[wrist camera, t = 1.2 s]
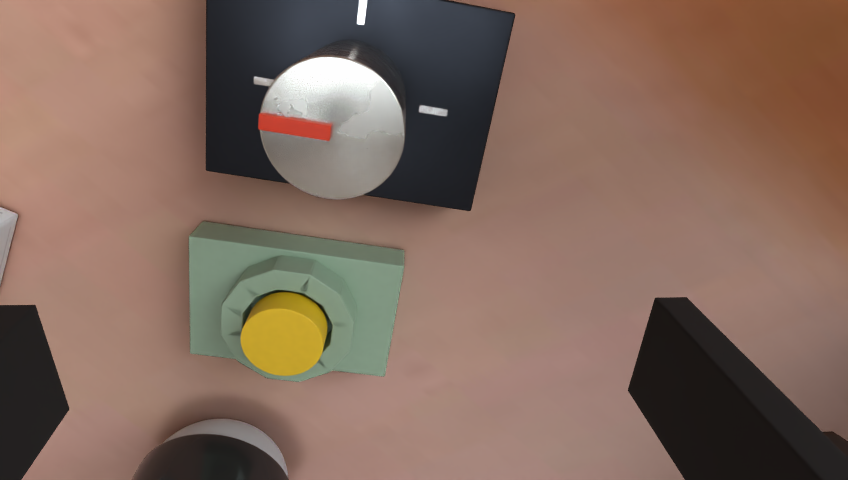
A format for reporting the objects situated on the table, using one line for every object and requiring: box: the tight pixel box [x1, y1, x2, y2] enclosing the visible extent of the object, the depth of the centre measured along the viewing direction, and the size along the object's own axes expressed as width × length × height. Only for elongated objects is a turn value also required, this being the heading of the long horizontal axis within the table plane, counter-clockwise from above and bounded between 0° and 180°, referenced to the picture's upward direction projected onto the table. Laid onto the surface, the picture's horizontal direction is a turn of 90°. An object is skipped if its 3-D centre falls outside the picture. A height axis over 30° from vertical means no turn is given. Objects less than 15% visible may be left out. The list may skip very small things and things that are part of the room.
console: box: [206, 0, 515, 211], centre depth 27 cm, size 14×10×3 cm
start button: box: [240, 292, 328, 376], centre depth 29 cm, size 4×4×2 cm
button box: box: [189, 221, 404, 382], centre depth 31 cm, size 12×8×4 cm, turn 80°
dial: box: [258, 40, 406, 200], centre depth 22 cm, size 5×5×8 cm
